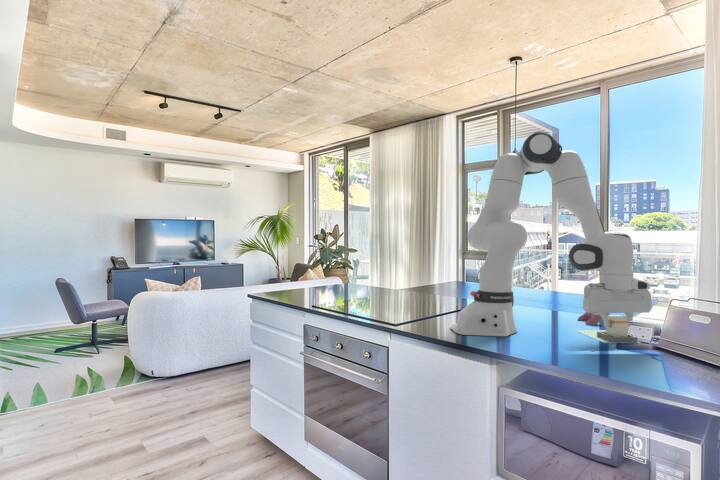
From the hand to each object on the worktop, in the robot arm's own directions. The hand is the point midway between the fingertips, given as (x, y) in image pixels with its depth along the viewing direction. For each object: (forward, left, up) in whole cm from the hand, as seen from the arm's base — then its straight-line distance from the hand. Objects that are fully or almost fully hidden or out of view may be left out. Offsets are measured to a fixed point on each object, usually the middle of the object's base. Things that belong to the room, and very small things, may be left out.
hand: (616, 326), depth 129 cm
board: (-1, +4, -5) cm, 6 cm away
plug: (0, 0, -3) cm, 3 cm away
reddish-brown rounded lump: (+6, +25, -5) cm, 26 cm away
